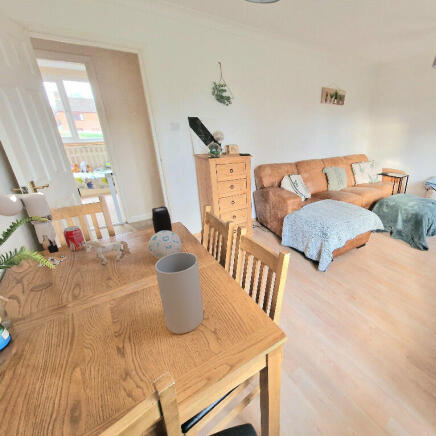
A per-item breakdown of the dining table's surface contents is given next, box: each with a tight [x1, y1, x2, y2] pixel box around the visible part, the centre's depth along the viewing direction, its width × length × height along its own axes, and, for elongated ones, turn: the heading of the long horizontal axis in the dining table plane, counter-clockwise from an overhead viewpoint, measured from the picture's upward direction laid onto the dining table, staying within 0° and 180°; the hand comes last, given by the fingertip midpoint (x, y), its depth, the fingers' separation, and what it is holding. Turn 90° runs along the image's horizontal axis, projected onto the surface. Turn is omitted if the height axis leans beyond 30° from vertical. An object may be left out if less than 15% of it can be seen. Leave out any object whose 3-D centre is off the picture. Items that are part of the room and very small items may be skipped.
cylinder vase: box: [154, 251, 205, 335], centre depth 82 cm, size 12×12×25 cm
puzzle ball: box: [147, 230, 183, 260], centre depth 121 cm, size 15×15×15 cm
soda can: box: [62, 225, 86, 252], centre depth 125 cm, size 7×7×12 cm
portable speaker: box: [151, 206, 173, 234], centre depth 139 cm, size 9×9×20 cm
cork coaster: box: [30, 280, 52, 292], centre depth 99 cm, size 6×6×1 cm
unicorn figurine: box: [79, 239, 132, 265], centre depth 115 cm, size 7×20×13 cm, turn 142°
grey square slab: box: [37, 255, 68, 268], centre depth 116 cm, size 8×8×2 cm
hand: (54, 251), depth 121 cm, fingers closed
